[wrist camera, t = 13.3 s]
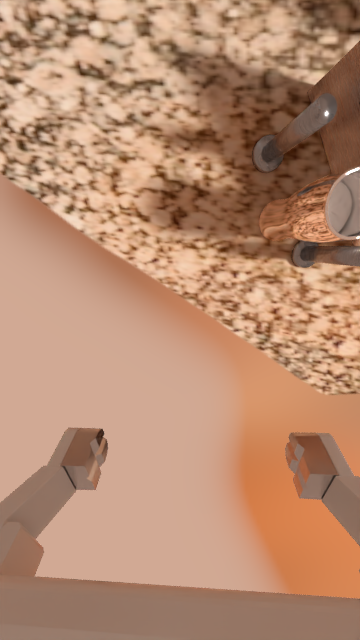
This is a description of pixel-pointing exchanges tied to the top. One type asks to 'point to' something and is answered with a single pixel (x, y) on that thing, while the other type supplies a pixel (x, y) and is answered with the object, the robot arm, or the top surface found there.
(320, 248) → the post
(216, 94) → the top surface
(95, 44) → the top surface
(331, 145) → the panel
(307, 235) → the beer glass
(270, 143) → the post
